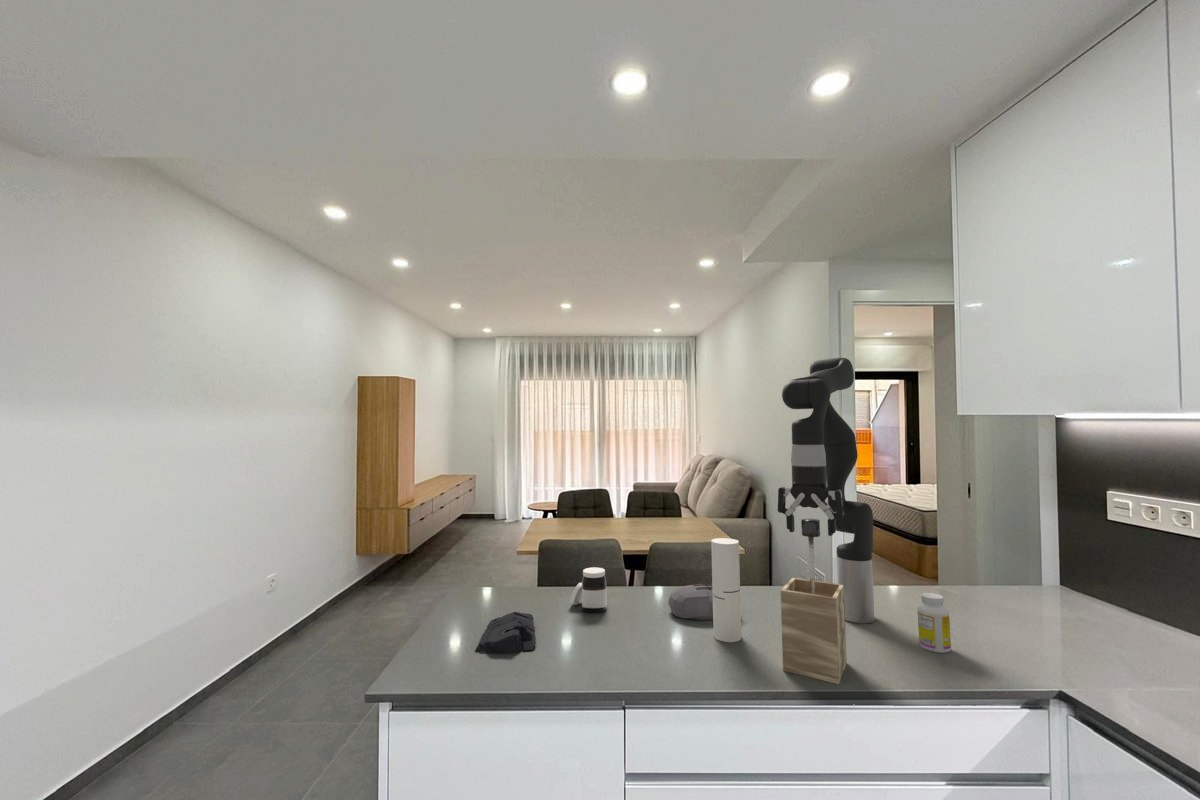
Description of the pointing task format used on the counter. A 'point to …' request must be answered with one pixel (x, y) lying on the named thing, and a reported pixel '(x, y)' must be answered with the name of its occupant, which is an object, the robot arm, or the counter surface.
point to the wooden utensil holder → (813, 629)
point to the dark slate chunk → (508, 635)
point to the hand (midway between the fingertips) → (810, 533)
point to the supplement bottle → (933, 624)
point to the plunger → (811, 546)
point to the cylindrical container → (726, 589)
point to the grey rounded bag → (692, 602)
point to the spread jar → (591, 590)
